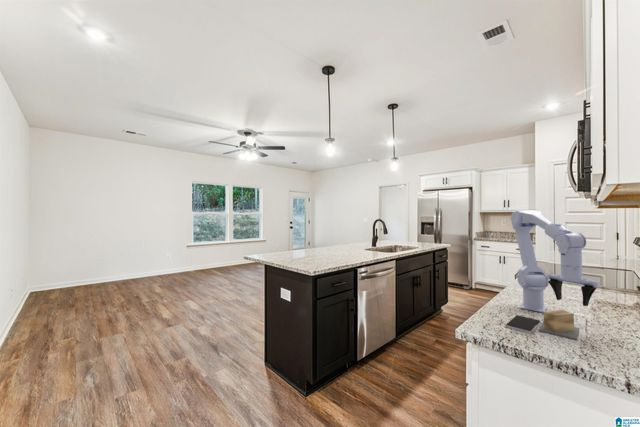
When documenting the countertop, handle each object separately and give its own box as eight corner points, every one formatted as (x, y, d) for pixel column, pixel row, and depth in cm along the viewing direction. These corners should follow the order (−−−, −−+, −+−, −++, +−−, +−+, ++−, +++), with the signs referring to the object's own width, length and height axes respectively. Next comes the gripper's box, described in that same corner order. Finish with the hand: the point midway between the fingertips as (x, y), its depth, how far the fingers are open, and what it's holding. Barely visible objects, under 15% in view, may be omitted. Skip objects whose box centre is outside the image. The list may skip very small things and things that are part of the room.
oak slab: (544, 327, 98) (543, 311, 98) (562, 325, 99) (561, 309, 99) (555, 332, 94) (554, 315, 94) (574, 330, 95) (573, 313, 95)
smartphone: (541, 320, 104) (532, 331, 94) (541, 323, 103) (532, 335, 94) (516, 314, 110) (505, 324, 100) (516, 317, 110) (505, 327, 100)
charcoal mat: (543, 321, 104) (543, 320, 104) (578, 328, 97) (578, 327, 97) (538, 331, 96) (538, 329, 96) (577, 340, 88) (577, 338, 88)
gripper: (603, 268, 93) (604, 306, 93) (552, 261, 106) (553, 295, 106) (593, 270, 90) (594, 310, 90) (543, 263, 103) (544, 298, 103)
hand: (571, 302), depth 98 cm, fingers open, 7 cm apart
